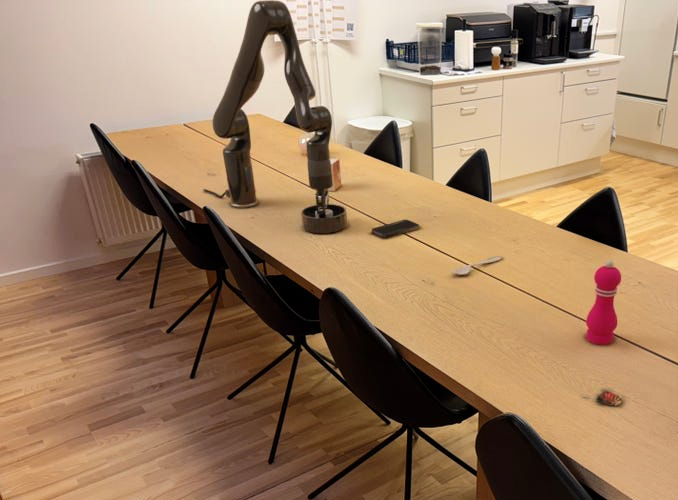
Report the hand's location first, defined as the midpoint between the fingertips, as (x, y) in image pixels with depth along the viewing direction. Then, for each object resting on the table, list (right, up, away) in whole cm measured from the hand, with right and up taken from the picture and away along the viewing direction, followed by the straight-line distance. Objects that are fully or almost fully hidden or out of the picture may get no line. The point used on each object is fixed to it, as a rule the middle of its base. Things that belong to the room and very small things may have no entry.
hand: (324, 220), depth 227 cm
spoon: (+50, -20, -28) cm, 60 cm away
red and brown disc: (+75, -55, -87) cm, 127 cm away
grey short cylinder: (0, -1, +1) cm, 2 cm away
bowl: (0, -2, +1) cm, 2 cm away
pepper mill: (+78, -42, -64) cm, 109 cm away
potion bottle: (-20, +46, +81) cm, 95 cm away
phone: (+24, -4, -2) cm, 24 cm away
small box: (-4, +21, +39) cm, 44 cm away
